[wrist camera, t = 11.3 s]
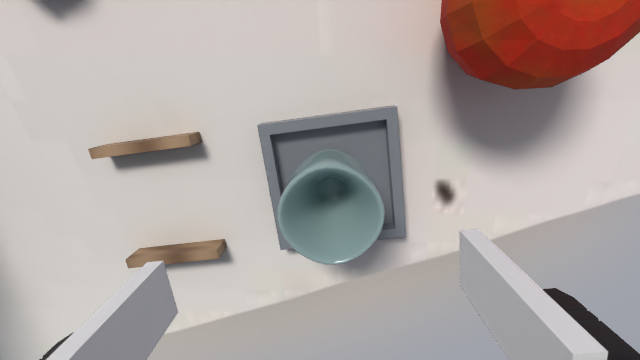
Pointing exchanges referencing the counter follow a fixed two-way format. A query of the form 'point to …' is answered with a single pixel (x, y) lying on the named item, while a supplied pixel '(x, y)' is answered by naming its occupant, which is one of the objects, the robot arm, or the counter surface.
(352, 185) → the cup
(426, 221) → the counter surface
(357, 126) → the dock cradle
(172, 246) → the dock rails
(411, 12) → the counter surface
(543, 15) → the apple
